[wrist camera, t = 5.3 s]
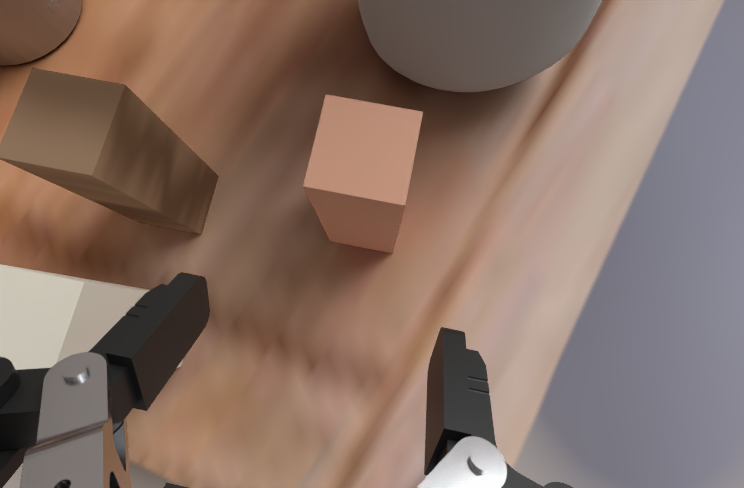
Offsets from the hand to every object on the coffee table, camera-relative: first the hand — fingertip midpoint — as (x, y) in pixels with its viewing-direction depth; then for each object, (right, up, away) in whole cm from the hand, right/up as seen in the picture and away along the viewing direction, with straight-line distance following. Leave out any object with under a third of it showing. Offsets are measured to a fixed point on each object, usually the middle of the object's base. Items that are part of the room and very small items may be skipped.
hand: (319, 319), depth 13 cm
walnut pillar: (-11, +5, +12) cm, 17 cm away
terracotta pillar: (+2, +4, +12) cm, 13 cm away
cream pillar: (-11, -2, +11) cm, 16 cm away
